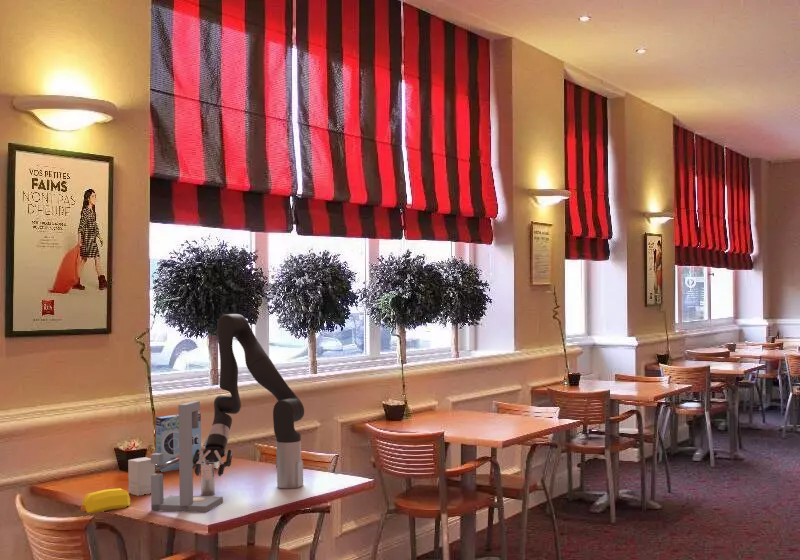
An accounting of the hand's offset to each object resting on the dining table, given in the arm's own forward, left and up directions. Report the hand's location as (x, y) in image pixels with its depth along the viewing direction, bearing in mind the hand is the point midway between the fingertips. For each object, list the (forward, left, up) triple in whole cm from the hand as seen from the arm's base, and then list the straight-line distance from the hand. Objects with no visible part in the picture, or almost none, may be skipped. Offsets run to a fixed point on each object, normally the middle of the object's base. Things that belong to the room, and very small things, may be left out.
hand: (208, 474), depth 318 cm
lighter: (-11, -53, -7) cm, 55 cm away
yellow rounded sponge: (+26, +27, -7) cm, 38 cm away
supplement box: (+26, +2, -7) cm, 27 cm away
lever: (+7, +16, +5) cm, 18 cm away
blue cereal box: (+34, -45, -7) cm, 57 cm away
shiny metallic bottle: (0, +1, -7) cm, 7 cm away
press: (-1, +20, -7) cm, 21 cm away
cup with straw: (+19, -47, -7) cm, 51 cm away
